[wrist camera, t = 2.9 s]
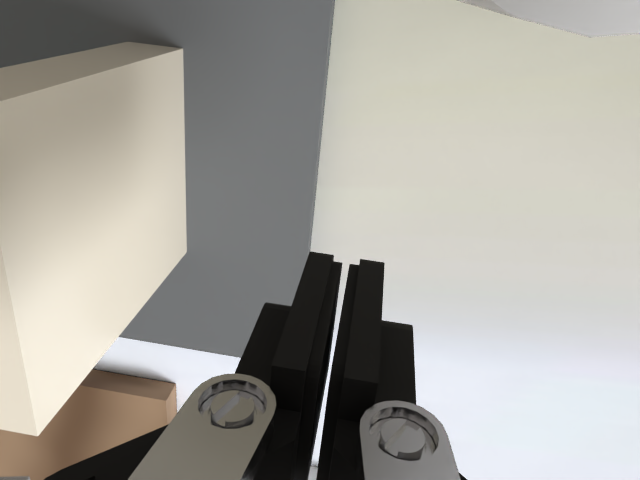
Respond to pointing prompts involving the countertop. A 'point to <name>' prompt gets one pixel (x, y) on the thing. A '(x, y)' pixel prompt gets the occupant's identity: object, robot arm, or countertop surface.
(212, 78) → the mat
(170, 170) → the tile
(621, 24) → the can
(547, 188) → the countertop surface
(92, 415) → the plate
